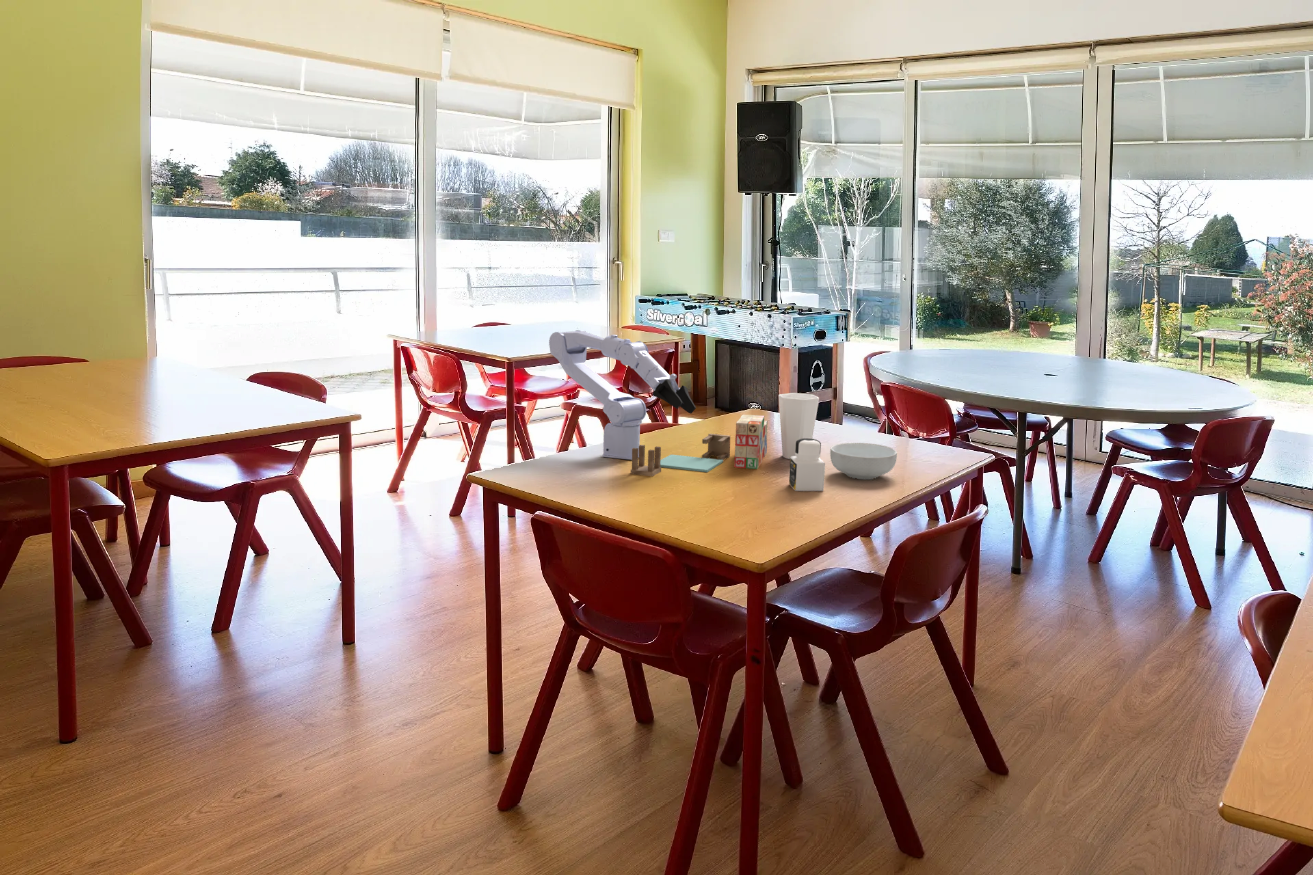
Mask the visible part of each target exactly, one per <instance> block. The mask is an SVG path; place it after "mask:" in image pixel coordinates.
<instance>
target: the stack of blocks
mask: <svg viewBox="0 0 1313 875" xmlns="http://www.w3.org/2000/svg"><path fill="white" fill-rule="evenodd" d="M734 440H735V443H734V445H735V446H734V447H735V448H734V449H735V450H734V463H733V464H734V468H739V469H754V470H758V469H759V467H760V466H761V464H762V462H763V459H764V457H766V455H767V451H768V420H765V415H756V414H755V415H754V414H742V415H741V416H740V418H739V419H738V420H737V421H736V423H735V439H734Z"/></svg>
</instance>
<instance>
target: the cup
mask: <svg viewBox="0 0 1313 875" xmlns="http://www.w3.org/2000/svg"><path fill="white" fill-rule="evenodd" d="M819 402H820V397H818V396H817V395H815V394H811V393H801V392H799V393H798V392H789V393H781V394H778V406H779V408H778V410H779V422H780V438H781V450H782V452H781V453H782V457H783V458H784V459H788V460H790V457H791V456H795V449H796V441H797V440H799V439H803V438H810V439H814V438H813V436H814V431H815V425H816V420H817V414H818V413H817V412H818V408H819Z"/></svg>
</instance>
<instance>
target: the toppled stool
mask: <svg viewBox="0 0 1313 875" xmlns="http://www.w3.org/2000/svg"><path fill="white" fill-rule="evenodd" d="M701 444H705V445H707V451H706V452H704V453H703V454H702V455H701V458H708V459H711V457H715V458H716V457H717V458H716V459H718V460H723V461H725V460H726V459H729V458H730V457H731V435H728V434H717V433H708V434H707V435H706V436H705V437H703V438H702V440H701Z"/></svg>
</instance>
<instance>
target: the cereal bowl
mask: <svg viewBox="0 0 1313 875" xmlns="http://www.w3.org/2000/svg"><path fill="white" fill-rule="evenodd" d="M829 454H830V461H831V463H832V466H833V467H834V468H835V469H836V470H837V471H839V472H840V473H843V474H845V475H846V476H847V477H849V476H850V477H849V478H851V477H852V478H851V479H855V478H857V479H858V480H874V479H873V478H875V479H877V478H879V476H883V475H885V474H888V473H890V472H891V471H892V470H893V469H894V467H895V465H896V463H897V460H898V459H897V457H898V452H897V450H896V449H894V448H892V447H890V446H887V445H883V444H877V443H865V442H845V443H839V444H834V445H832V446H831V447H830V450H829ZM876 477H877V478H876ZM857 479H856V480H857Z"/></svg>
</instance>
